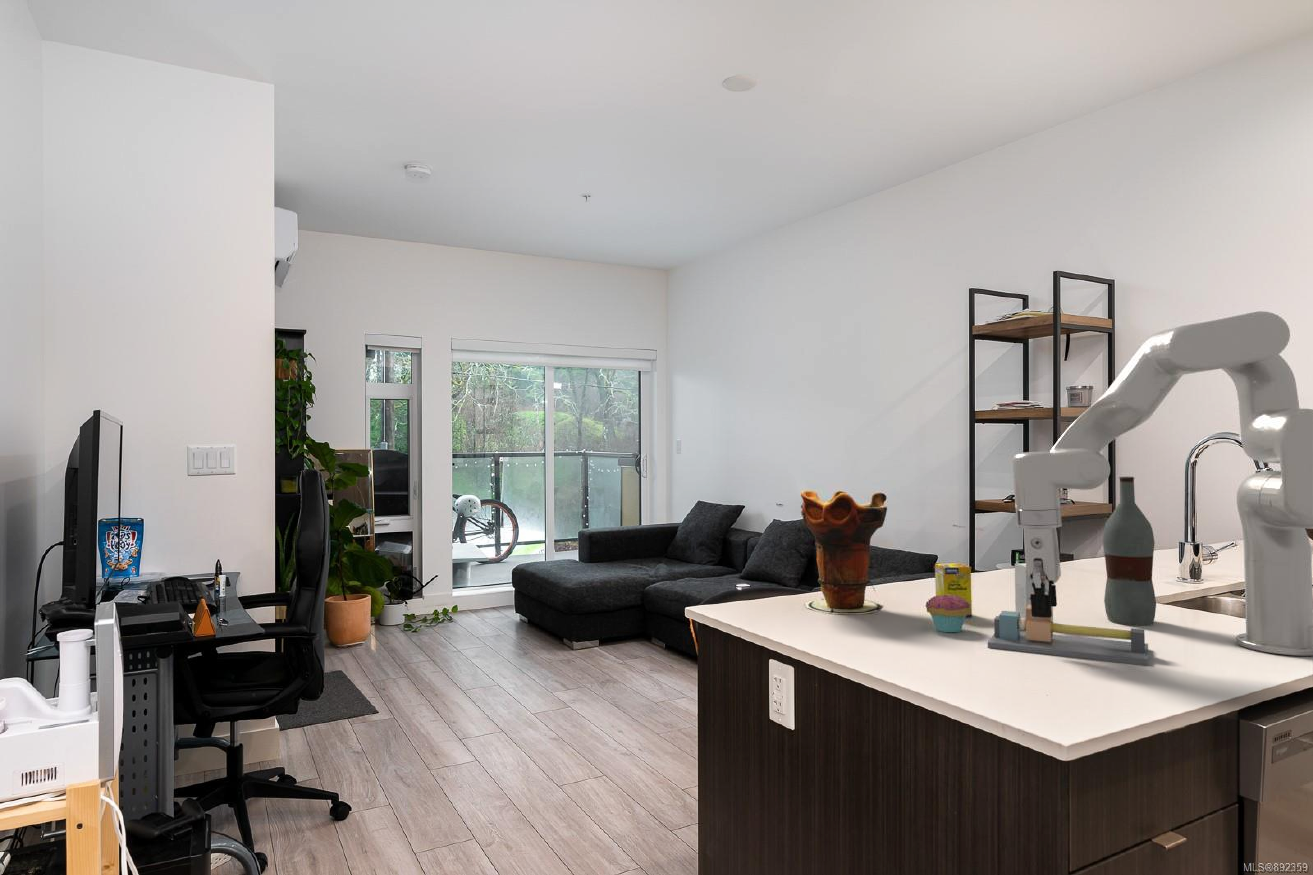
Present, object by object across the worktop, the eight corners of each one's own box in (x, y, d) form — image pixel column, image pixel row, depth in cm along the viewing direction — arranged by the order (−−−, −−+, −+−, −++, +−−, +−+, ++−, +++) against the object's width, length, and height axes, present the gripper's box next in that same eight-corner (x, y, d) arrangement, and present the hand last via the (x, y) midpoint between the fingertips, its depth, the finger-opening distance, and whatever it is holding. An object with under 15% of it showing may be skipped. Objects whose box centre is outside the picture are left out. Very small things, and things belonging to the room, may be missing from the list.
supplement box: (972, 617, 169) (971, 566, 169) (944, 618, 169) (943, 567, 169) (962, 612, 175) (961, 562, 175) (935, 612, 175) (934, 563, 175)
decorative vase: (903, 599, 188) (898, 482, 187) (875, 623, 168) (870, 493, 167) (820, 592, 199) (815, 482, 198) (784, 614, 179) (779, 492, 178)
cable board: (1148, 649, 141) (1147, 619, 141) (1148, 665, 131) (1147, 633, 131) (998, 633, 154) (997, 606, 154) (987, 647, 144) (987, 618, 144)
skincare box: (1027, 625, 161) (1025, 566, 161) (1014, 620, 165) (1013, 563, 165) (1054, 624, 161) (1053, 565, 162) (1041, 619, 166) (1040, 562, 166)
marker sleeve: (1053, 636, 146) (1052, 606, 146) (1050, 641, 142) (1049, 610, 142) (1029, 634, 148) (1028, 604, 148) (1026, 639, 144) (1025, 608, 144)
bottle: (1142, 616, 167) (1139, 475, 167) (1166, 626, 158) (1162, 477, 158) (1096, 616, 168) (1093, 476, 168) (1117, 626, 159) (1113, 478, 159)
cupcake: (923, 632, 156) (921, 572, 156) (929, 623, 164) (928, 566, 164) (969, 636, 152) (968, 574, 152) (974, 627, 160) (972, 568, 160)
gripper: (1056, 523, 136) (1063, 622, 135) (1065, 513, 150) (1071, 603, 150) (1009, 523, 140) (1016, 620, 139) (1022, 514, 154) (1028, 601, 154)
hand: (1044, 611), depth 145 cm, fingers open, 9 cm apart
